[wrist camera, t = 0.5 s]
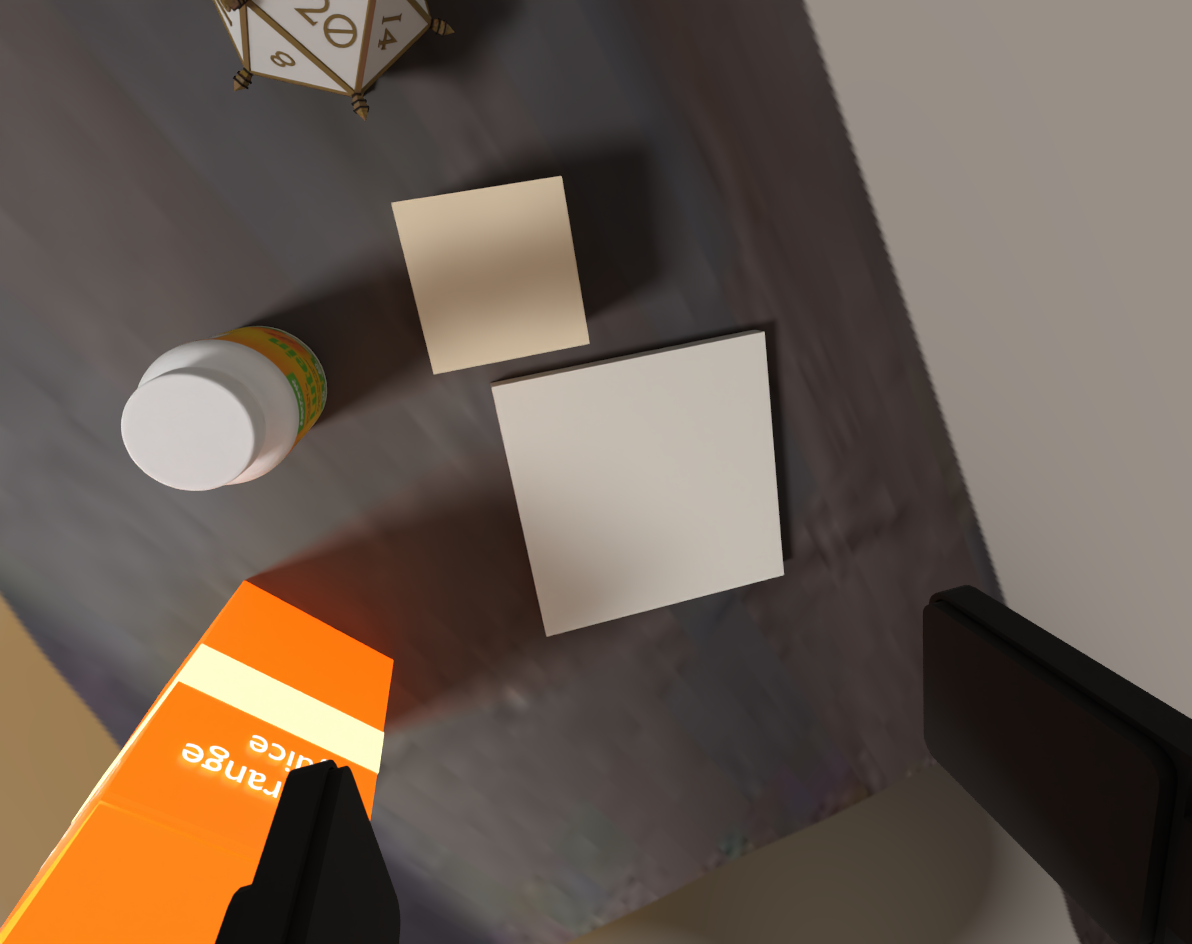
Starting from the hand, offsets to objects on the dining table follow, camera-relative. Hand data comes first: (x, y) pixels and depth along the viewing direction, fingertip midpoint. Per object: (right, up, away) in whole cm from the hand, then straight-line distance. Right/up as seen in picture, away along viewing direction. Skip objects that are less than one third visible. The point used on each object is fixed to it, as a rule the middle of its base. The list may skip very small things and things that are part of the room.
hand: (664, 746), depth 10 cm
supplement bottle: (-16, +8, +20) cm, 28 cm away
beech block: (-6, +14, +21) cm, 26 cm away
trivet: (+2, +4, +26) cm, 26 cm away
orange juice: (-18, -6, +25) cm, 31 cm away
